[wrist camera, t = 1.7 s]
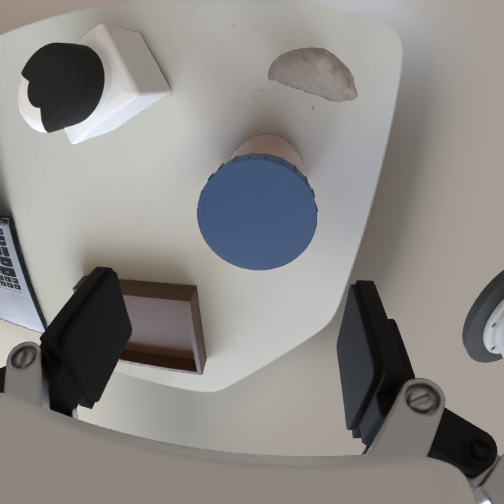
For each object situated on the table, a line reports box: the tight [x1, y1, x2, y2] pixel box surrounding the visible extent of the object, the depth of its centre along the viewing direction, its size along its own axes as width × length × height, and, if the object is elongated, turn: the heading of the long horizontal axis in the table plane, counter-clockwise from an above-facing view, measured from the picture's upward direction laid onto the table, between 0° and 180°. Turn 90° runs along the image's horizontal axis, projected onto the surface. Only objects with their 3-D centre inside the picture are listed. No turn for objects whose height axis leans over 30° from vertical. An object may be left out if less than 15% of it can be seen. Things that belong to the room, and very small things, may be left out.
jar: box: [226, 134, 308, 181], centre depth 23 cm, size 7×7×11 cm
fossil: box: [268, 48, 357, 102], centre depth 19 cm, size 6×4×10 cm, turn 78°
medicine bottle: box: [17, 23, 171, 144], centre depth 19 cm, size 7×7×12 cm
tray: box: [73, 276, 206, 375], centre depth 37 cm, size 15×12×3 cm
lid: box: [197, 152, 318, 270], centre depth 19 cm, size 7×7×2 cm
